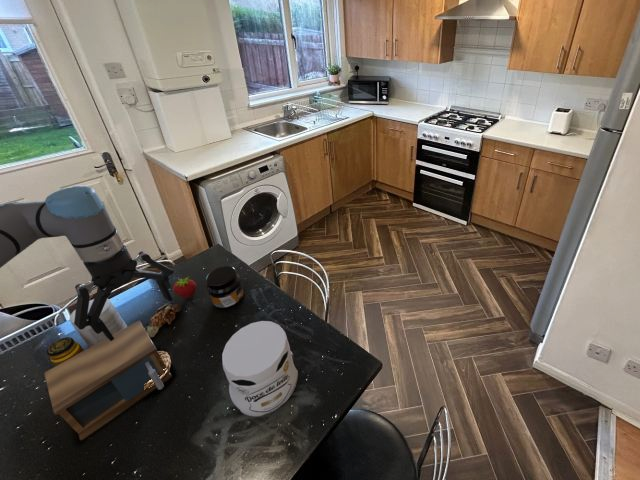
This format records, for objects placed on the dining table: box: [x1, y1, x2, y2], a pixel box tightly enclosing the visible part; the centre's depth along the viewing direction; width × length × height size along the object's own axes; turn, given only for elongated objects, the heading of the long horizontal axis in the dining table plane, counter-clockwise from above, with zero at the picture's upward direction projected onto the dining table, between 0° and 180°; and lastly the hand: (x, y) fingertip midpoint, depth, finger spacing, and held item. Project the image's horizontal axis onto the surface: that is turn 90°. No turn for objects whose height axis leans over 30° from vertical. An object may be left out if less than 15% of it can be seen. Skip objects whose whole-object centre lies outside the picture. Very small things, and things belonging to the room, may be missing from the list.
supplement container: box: [205, 265, 245, 311], centre depth 110 cm, size 10×10×12 cm
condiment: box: [46, 336, 86, 367], centre depth 87 cm, size 7×8×12 cm
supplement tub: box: [69, 298, 128, 348], centre depth 94 cm, size 10×10×15 cm
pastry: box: [144, 302, 181, 338], centre depth 103 cm, size 7×12×4 cm, turn 174°
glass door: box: [111, 353, 166, 402], centre depth 81 cm, size 5×9×10 cm, turn 140°
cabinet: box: [43, 320, 173, 441], centre depth 82 cm, size 14×20×13 cm
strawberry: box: [172, 275, 197, 300], centre depth 111 cm, size 6×8×10 cm
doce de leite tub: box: [221, 320, 299, 417], centre depth 82 cm, size 17×17×18 cm
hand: (141, 316), depth 79 cm, fingers open, 13 cm apart
